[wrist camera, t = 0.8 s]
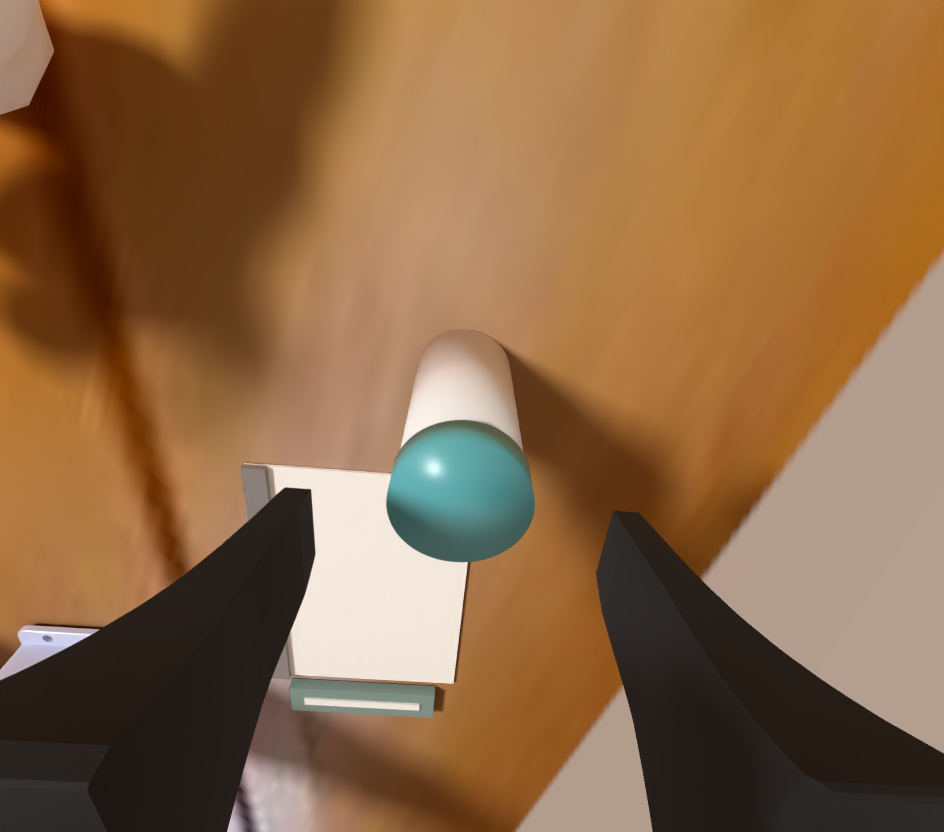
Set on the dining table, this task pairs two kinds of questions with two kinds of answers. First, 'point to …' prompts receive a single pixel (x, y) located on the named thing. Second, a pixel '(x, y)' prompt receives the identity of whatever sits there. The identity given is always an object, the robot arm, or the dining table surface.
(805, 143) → the dining table surface
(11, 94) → the person figurine
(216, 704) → the robot arm
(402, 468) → the white teal cylinder
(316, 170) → the dining table surface
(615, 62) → the dining table surface
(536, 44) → the dining table surface
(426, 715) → the green striped bar
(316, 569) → the white rectangular slab
